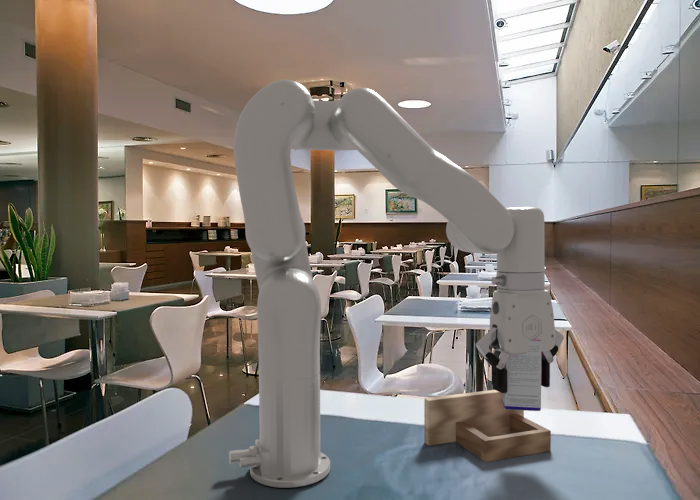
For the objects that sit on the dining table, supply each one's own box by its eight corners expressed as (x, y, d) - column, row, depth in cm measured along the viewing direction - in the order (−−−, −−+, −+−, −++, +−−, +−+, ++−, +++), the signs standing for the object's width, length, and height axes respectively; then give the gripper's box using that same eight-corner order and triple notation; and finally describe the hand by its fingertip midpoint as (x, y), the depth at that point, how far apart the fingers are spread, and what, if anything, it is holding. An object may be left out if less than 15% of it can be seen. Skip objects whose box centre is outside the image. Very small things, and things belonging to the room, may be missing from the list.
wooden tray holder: (455, 467, 87) (455, 417, 87) (424, 442, 97) (424, 398, 97) (557, 449, 94) (558, 403, 94) (518, 428, 104) (519, 386, 104)
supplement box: (542, 411, 88) (542, 340, 87) (504, 410, 89) (503, 340, 88) (537, 400, 93) (536, 333, 93) (501, 398, 94) (500, 333, 94)
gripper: (488, 287, 84) (489, 401, 84) (579, 281, 90) (579, 388, 90) (462, 283, 91) (463, 388, 92) (548, 278, 97) (548, 376, 97)
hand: (521, 387), depth 91 cm, fingers closed on supplement box, 7 cm apart
